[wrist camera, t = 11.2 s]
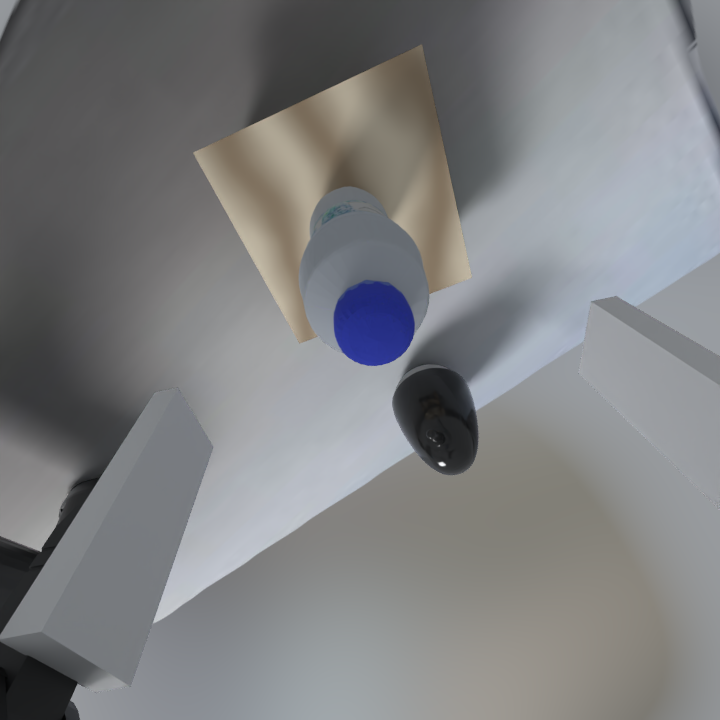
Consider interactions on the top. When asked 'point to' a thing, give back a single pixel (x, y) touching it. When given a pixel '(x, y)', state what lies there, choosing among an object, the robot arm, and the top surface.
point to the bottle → (362, 279)
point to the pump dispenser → (438, 417)
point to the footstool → (341, 175)
